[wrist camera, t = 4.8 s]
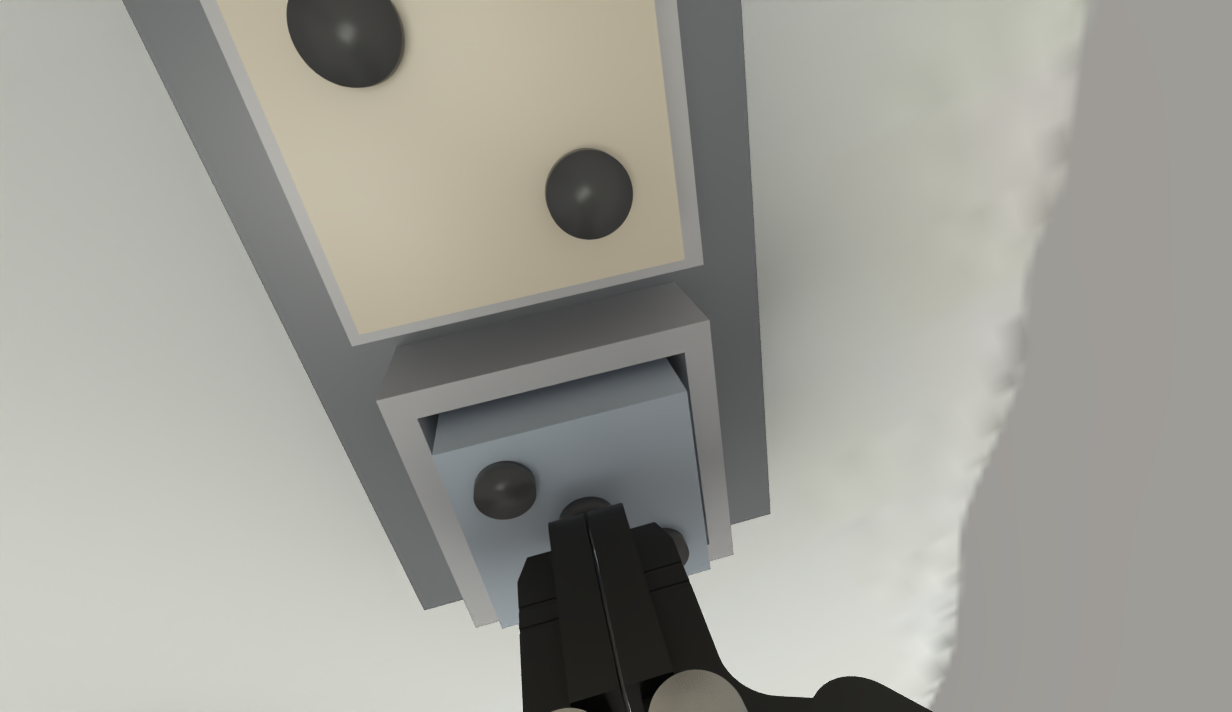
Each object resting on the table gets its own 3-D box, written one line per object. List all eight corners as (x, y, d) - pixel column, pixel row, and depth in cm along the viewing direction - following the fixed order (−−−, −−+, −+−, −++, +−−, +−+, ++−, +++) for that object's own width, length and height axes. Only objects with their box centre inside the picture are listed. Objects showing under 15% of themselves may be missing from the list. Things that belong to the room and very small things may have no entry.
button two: (287, -29, 9) (165, -94, 6) (589, -80, 9) (641, -169, 6) (396, 265, 11) (355, 343, 8) (635, 213, 12) (691, 264, 8)
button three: (446, 371, 14) (430, 465, 10) (644, 323, 14) (691, 398, 11) (501, 522, 16) (502, 640, 13) (669, 477, 16) (714, 578, 13)
